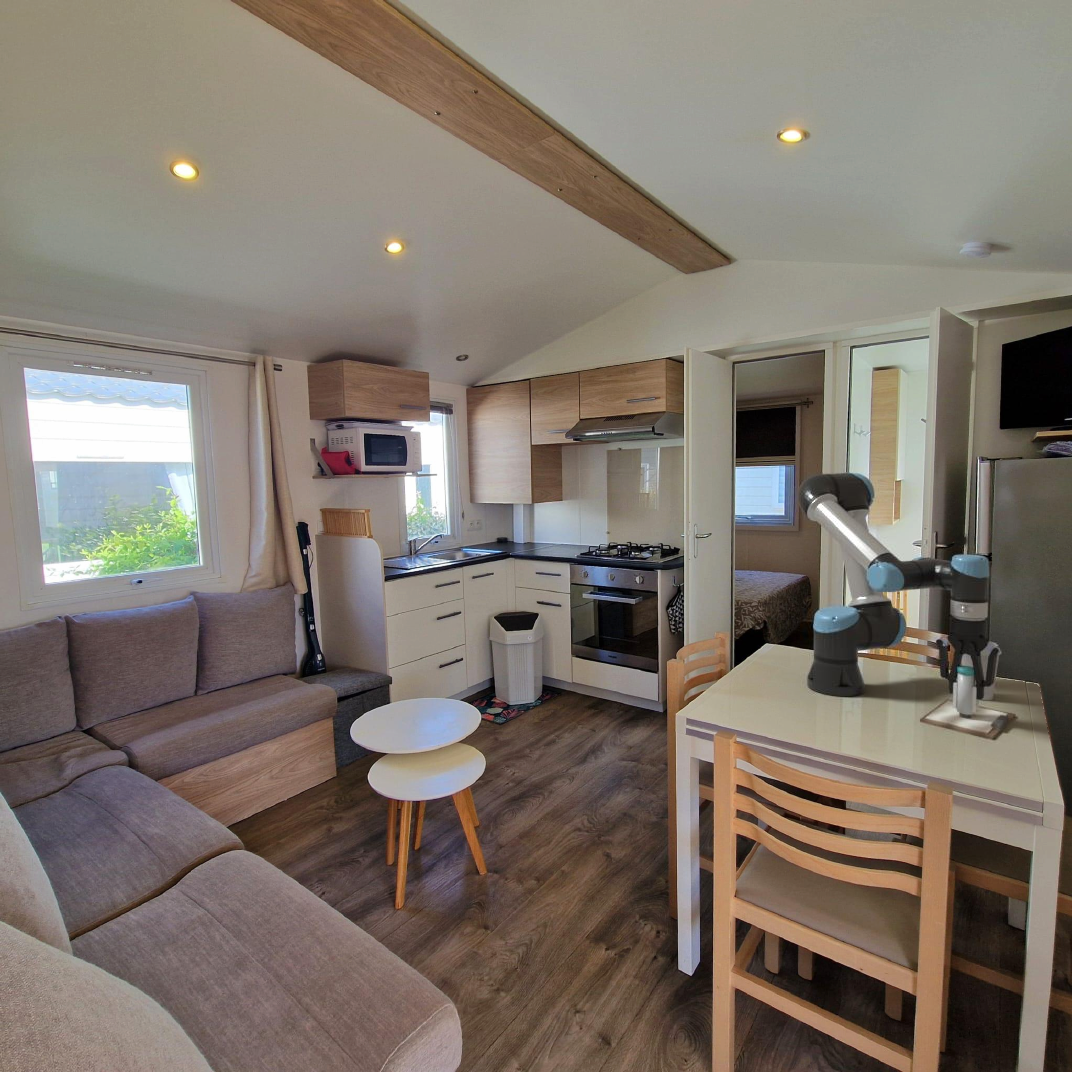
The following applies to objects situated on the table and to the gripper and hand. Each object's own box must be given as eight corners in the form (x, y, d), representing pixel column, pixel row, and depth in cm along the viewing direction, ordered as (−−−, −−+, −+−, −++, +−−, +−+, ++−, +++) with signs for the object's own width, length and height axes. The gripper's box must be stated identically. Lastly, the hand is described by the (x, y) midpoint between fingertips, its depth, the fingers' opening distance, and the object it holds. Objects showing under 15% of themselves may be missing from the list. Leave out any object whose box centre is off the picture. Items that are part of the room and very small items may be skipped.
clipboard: (919, 721, 154) (920, 715, 153) (947, 701, 166) (947, 695, 166) (992, 739, 142) (992, 733, 142) (1015, 716, 155) (1015, 710, 155)
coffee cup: (1007, 703, 164) (1009, 648, 162) (967, 701, 165) (968, 647, 164) (988, 690, 173) (990, 638, 171) (950, 689, 175) (952, 638, 173)
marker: (953, 716, 154) (954, 667, 153) (960, 712, 157) (961, 664, 155) (970, 720, 151) (972, 671, 150) (977, 716, 154) (979, 667, 152)
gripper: (925, 615, 156) (923, 704, 158) (1004, 625, 143) (1001, 722, 145) (936, 610, 160) (933, 696, 163) (1013, 619, 148) (1009, 713, 150)
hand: (965, 708), depth 154 cm, fingers closed on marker, 3 cm apart
